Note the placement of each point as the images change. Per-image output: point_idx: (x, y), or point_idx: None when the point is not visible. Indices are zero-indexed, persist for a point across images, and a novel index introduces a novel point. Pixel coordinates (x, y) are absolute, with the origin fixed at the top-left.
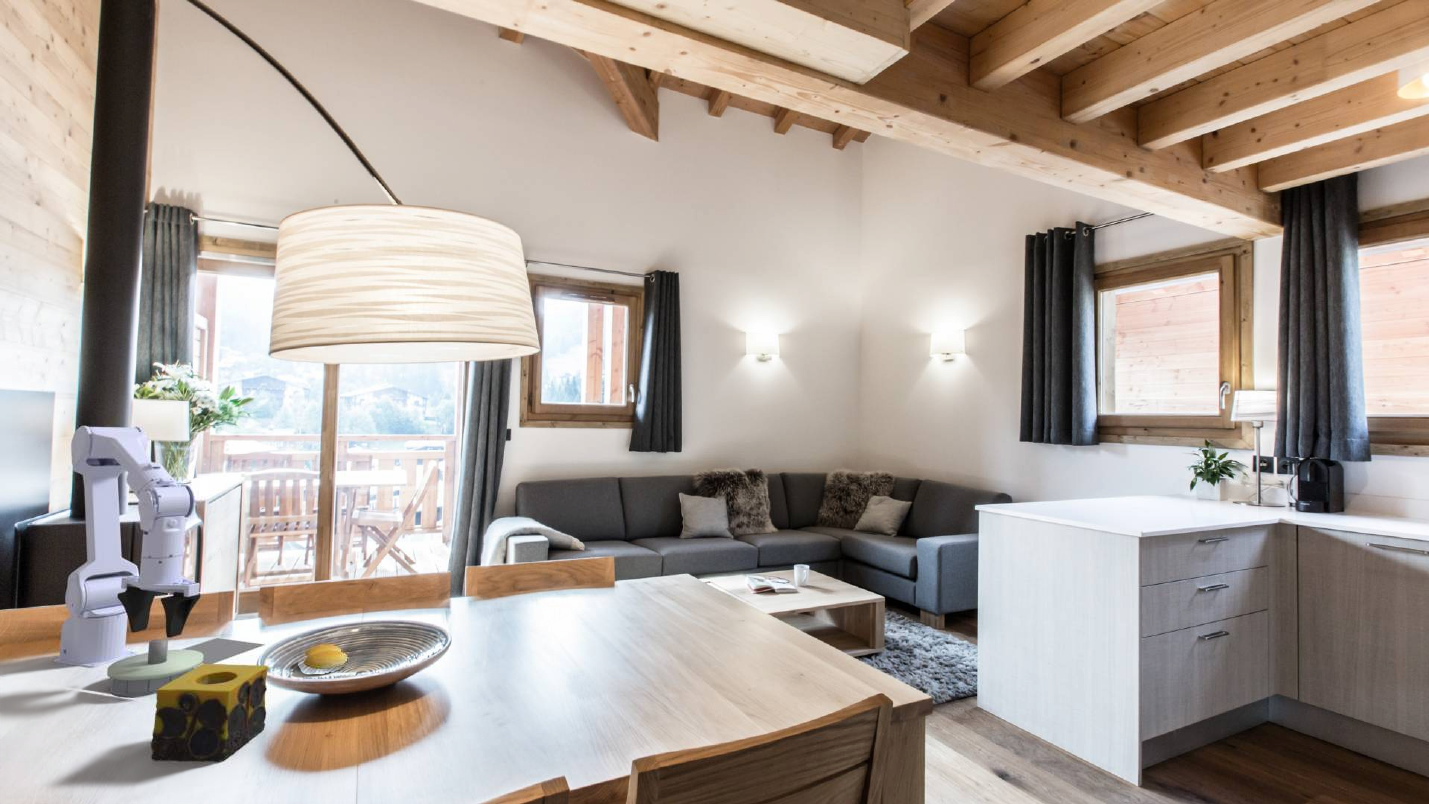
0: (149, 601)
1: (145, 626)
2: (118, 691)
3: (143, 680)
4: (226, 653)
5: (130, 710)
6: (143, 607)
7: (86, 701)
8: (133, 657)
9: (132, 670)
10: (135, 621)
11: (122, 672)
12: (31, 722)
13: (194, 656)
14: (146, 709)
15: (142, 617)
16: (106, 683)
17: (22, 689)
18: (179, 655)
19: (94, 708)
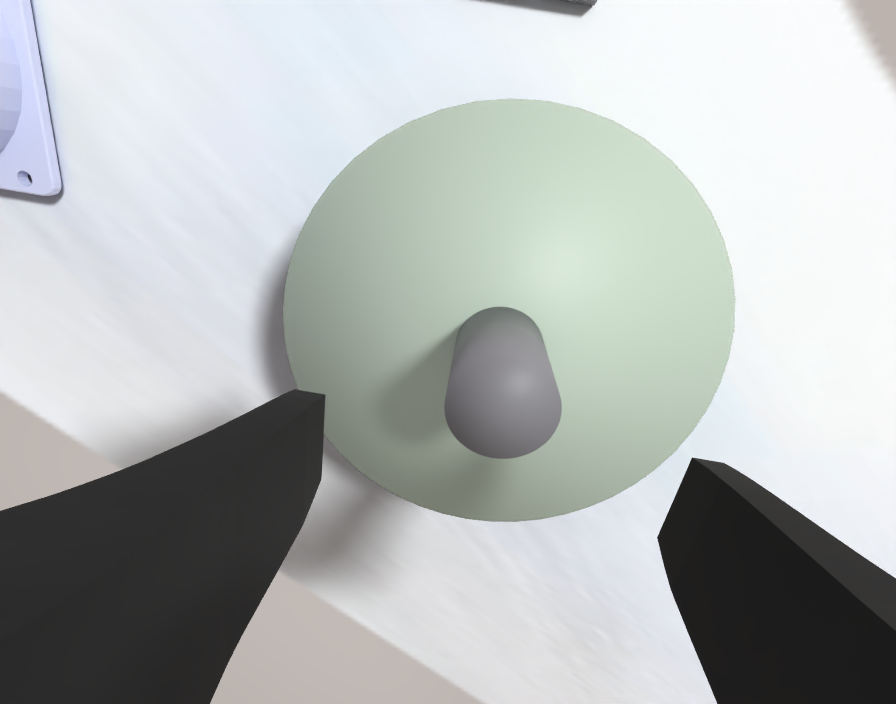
0: (133, 602)
1: (314, 416)
2: None
3: None
4: None
5: (603, 529)
6: (194, 600)
7: None
8: (312, 306)
9: (479, 467)
10: (281, 548)
11: (458, 494)
12: (390, 609)
13: (651, 224)
14: (652, 519)
15: (267, 507)
16: None
17: (84, 422)
18: (541, 225)
19: (473, 526)
